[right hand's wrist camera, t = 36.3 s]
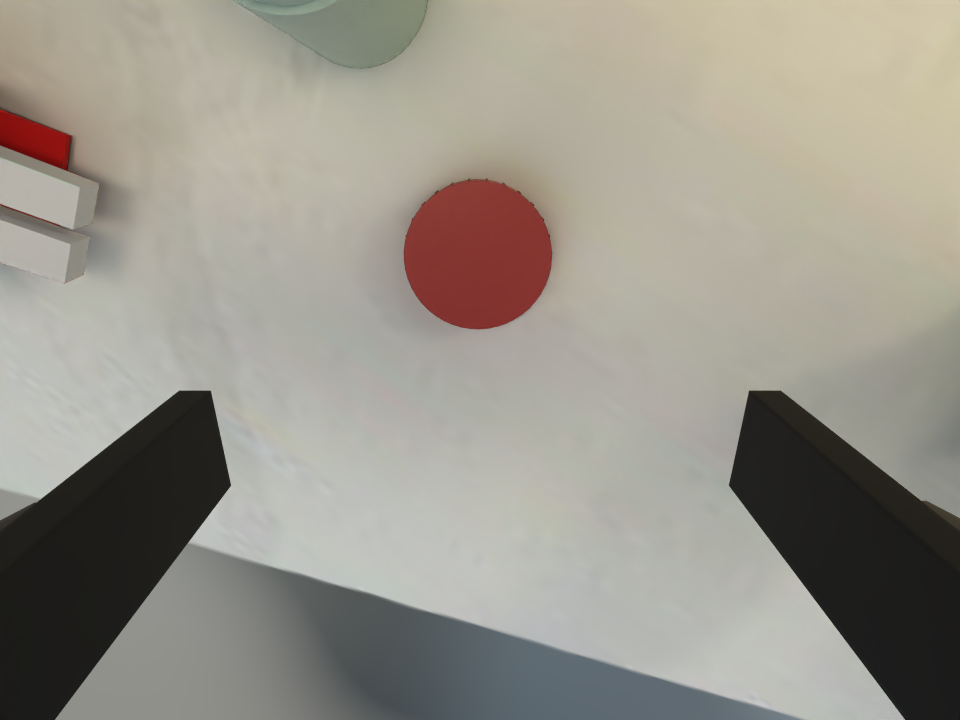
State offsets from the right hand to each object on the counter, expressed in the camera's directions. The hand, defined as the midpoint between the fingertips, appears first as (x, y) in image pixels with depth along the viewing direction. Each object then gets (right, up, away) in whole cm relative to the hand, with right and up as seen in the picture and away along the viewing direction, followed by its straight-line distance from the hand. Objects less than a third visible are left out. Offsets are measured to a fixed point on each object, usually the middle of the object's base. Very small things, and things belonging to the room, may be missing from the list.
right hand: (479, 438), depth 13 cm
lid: (0, +9, +22) cm, 24 cm away
